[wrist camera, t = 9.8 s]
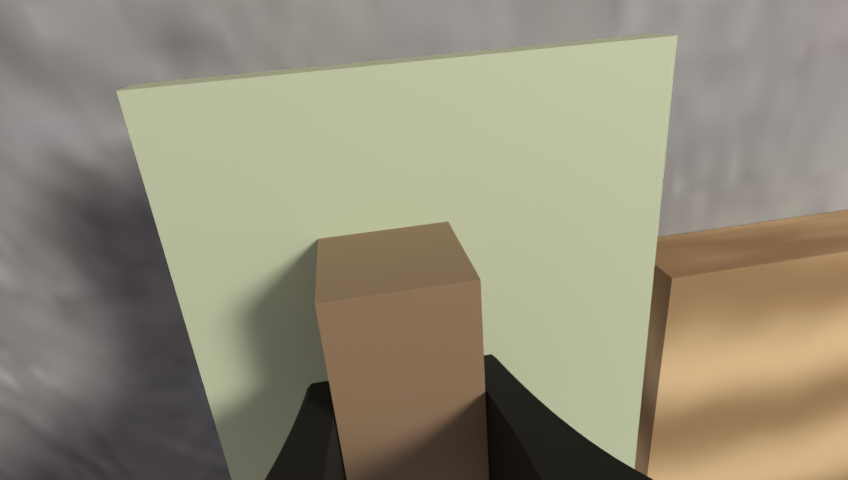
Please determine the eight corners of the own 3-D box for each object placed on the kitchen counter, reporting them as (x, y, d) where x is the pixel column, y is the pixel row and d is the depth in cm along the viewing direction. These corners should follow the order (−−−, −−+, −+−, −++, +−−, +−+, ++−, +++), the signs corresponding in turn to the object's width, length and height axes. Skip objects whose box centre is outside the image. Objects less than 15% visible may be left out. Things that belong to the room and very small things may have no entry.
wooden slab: (782, 519, 34) (843, 590, 30) (600, 558, 33) (638, 637, 29) (869, 206, 26) (972, 246, 21) (627, 241, 24) (687, 290, 20)
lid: (613, 503, 19) (682, 622, 15) (271, 572, 18) (256, 719, 14) (652, 33, 13) (781, 43, 9) (133, 84, 11) (42, 119, 8)
